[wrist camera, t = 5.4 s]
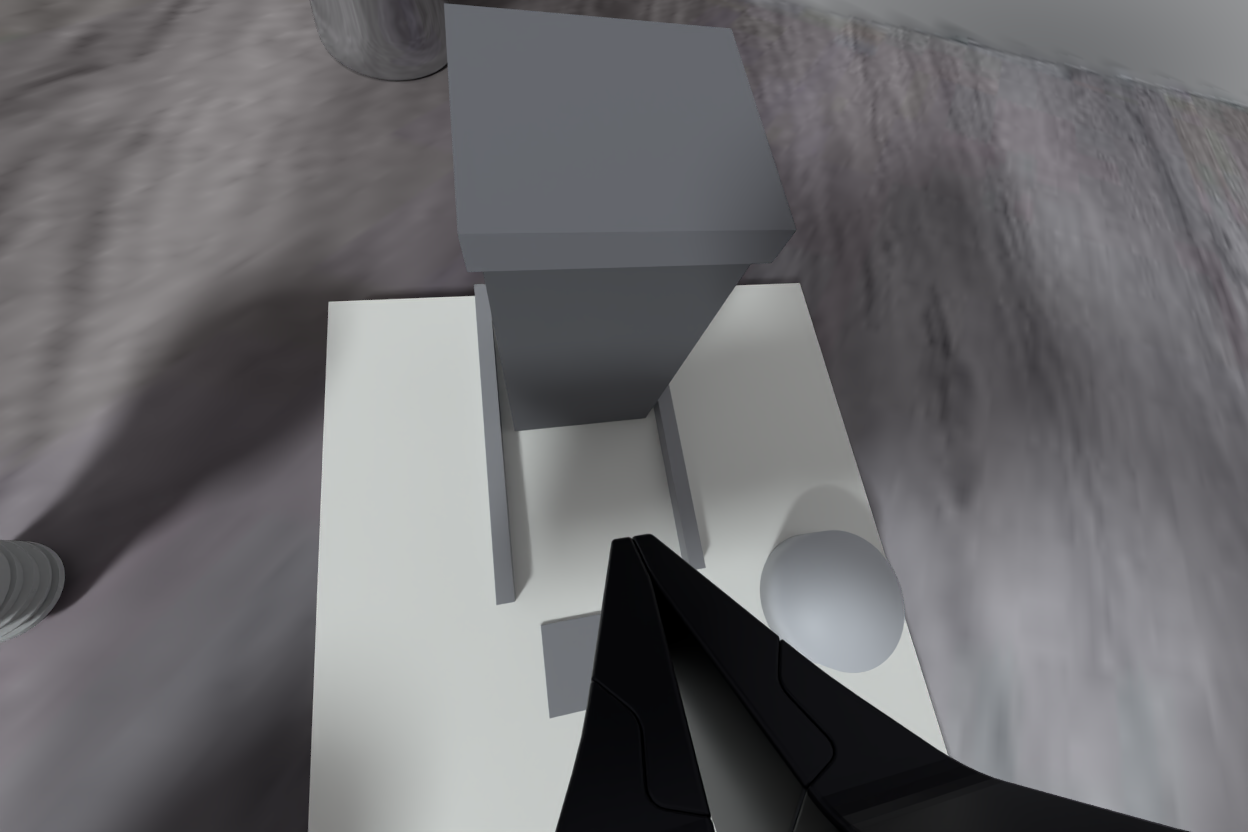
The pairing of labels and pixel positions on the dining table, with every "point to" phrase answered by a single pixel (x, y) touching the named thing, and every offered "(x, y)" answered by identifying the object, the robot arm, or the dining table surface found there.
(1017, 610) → the dining table surface
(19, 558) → the light bulb
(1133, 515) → the dining table surface
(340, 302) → the panel
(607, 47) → the grey lidded box
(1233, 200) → the dining table surface
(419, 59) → the beer glass
